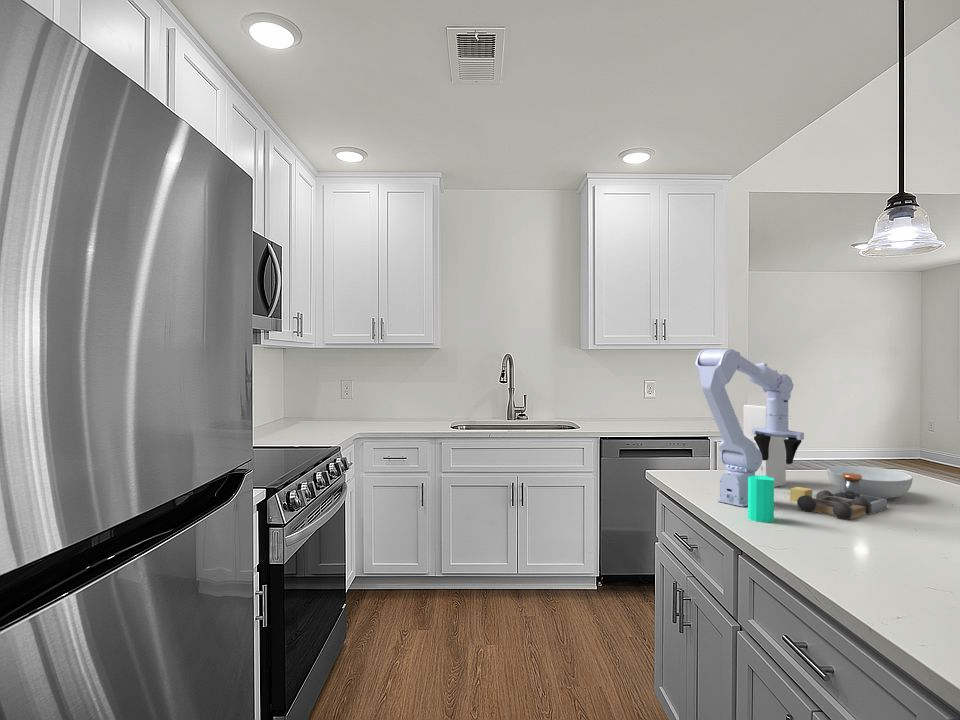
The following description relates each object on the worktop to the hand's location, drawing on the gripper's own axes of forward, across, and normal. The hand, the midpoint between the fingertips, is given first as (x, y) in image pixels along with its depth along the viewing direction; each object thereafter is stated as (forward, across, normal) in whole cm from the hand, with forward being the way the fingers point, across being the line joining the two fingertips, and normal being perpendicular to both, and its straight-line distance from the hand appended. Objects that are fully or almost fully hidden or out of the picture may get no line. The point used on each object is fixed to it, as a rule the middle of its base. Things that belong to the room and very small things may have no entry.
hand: (777, 461), depth 176 cm
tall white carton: (+10, +11, -12) cm, 19 cm away
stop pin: (+9, -18, -5) cm, 21 cm away
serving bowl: (+10, -15, -22) cm, 29 cm away
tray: (+10, -18, -6) cm, 22 cm away
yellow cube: (+10, -7, 0) cm, 12 cm away
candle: (+10, -11, +27) cm, 31 cm away
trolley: (+10, -18, +5) cm, 21 cm away
